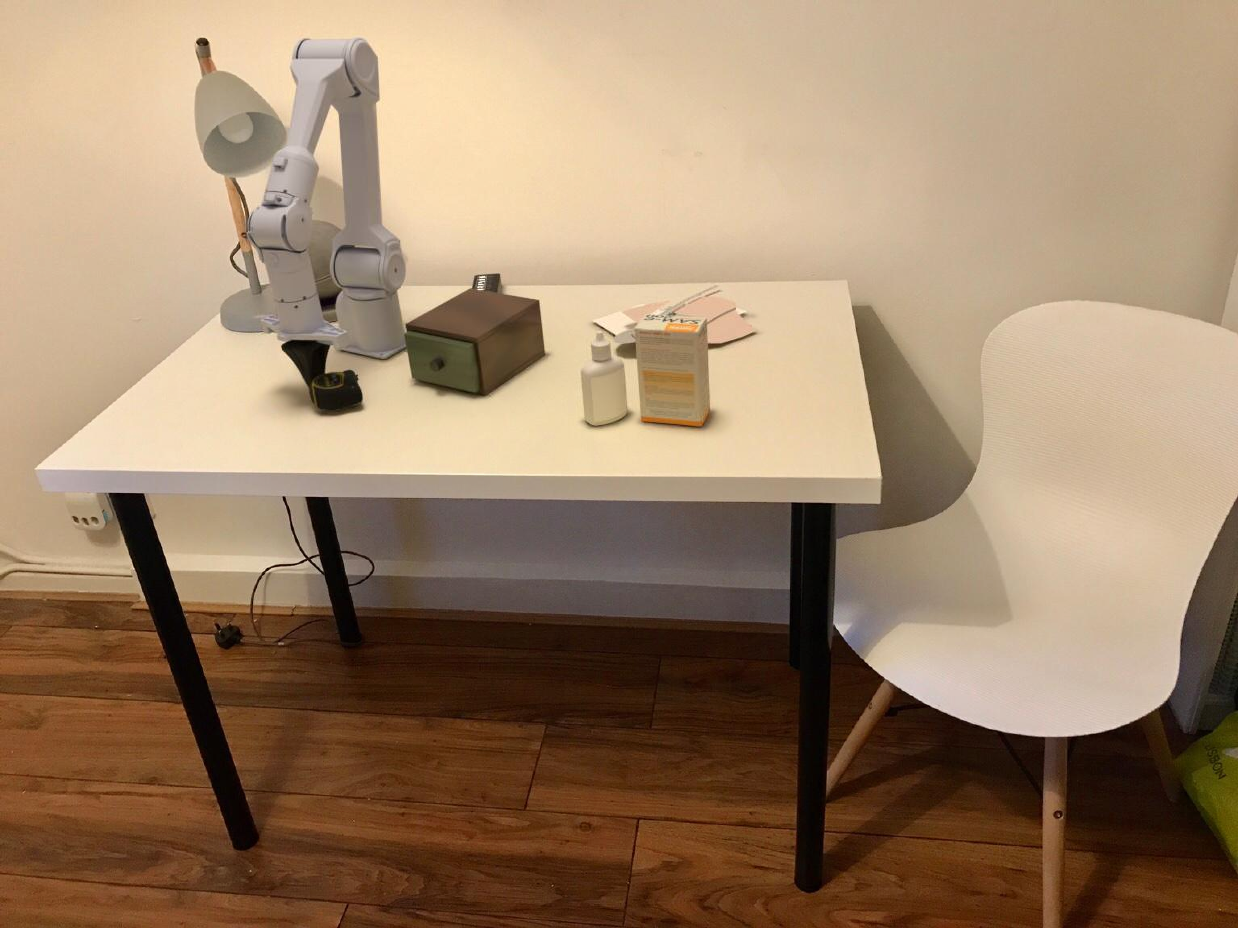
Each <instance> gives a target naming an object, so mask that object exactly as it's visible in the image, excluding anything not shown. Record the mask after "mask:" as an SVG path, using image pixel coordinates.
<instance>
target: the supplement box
mask: <svg viewBox="0 0 1238 928" xmlns="http://www.w3.org/2000/svg"><path fill="white" fill-rule="evenodd" d="M634 330H635V341H636V342H635V353H636V355H635V356H636V367H637V381H638V394H639V408H640V417H641V418H640V419H641V422H649V423H660V424H670V425H671V424H672V425H683V426H693V427H702V426H703V424H704V422H705V421H706V419H707V417H708V416H709V413H710V411H711V395H710V392H711V391H710V369H709V343H708V338H707V318H701V317H685V316H667V315H652V314H646V315H645V316H644V317H643V318H642V319H641V320H640V322H639V323H638V324H637V325H636V327H635V328H634Z"/></svg>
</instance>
